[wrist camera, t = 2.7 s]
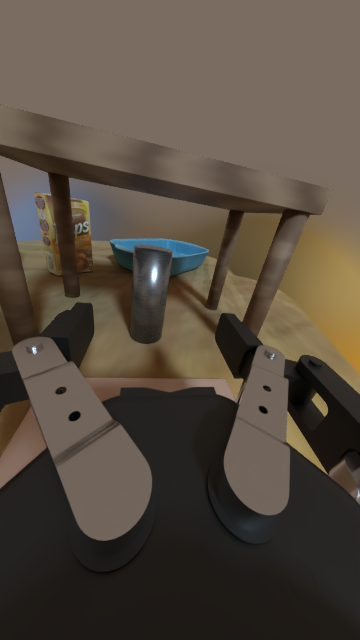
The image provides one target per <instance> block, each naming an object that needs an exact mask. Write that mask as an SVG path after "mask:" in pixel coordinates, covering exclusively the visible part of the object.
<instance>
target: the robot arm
mask: <svg viewBox="0 0 360 640" xmlns="http://www.w3.org/2000/svg"><path fill="white" fill-rule="evenodd" d="M93 335H94V317H93V306H92V304H91V303H79V302H77V303H76V304H75V305H74V307H73V308H72V309H71V310H65V311H63V312H62V313H60V314H58V315H57V316H56V317H55V318H54V320H53V321H52V322H51V323H50V324H49V325H48V326H47V327H46V328H45V330H44V331H43V332H42V333H41V334H40V335H39V336H38V337H33V338H29V339H26V340H23V341H21V342H19V343H18V344H16V345H15V346H14V347H13V349H12V351H10V352H3V353H0V412H1V410H2V409H3V407H4V406H5V405H7V404H11V403H15V402H19V401H23V400H27V399H29V402H30V404H31V407H32V410H33V412H34V415H35V418H36V421H37V423H38V426H39V429H40V431H41V434H42V437H43V440H44V443H45V445H46V449H45V450H43V451H42V452H41V453H40V454H39V455H38V456H37V457H35V458H34V459H33V460H32V461H31V462H30V463H29V464H27V465H26V466H25V467H24V468H23V469H22V470H21V471H20V472H18V473H17V474H16V475H15V476H14V477H13V478H12V479H10V480H9V481H8V482H7V483H6V484H5V485H4V486H2V487H1V488H0V640H360V394H359V393H358V392H357V391H355V390H354V389H353V388H352V387H351V386H350V385H349V384H348V383H347V382H346V381H345V380H343V379H342V378H341V377H340V376H339V375H338V374H337V373H336V372H335V371H334V370H333V369H331V368H330V367H329V366H328V365H327V364H326V363H325V362H323V361H322V360H320V359H318V358H316V357H313V356H309V355H302V356H301V357H300V359H299V360H298V362H296V361H291V360H287V359H285V357H284V355H283V354H282V353H281V352H280V351H279V350H277V349H275V348H273V347H270V346H266V345H263V344H262V342H261V341H260V340H259V339H258V338H257V337H256V335H254V333H253V332H252V331H251V330H250V328H249V327H248V326H247V325H245V324H244V323H242V322H241V321H240V320H239V319H238V318H237V317H236V316H235V314H229V313H222V314H221V316H220V319H219V323H218V326H217V330H216V334H215V340H216V343H217V345H218V347H219V349H220V351H221V353H222V355H223V357H224V359H225V361H226V363H227V365H228V367H229V369H230V371H231V373H232V375H233V377H234V378H243V380H244V381H243V383H242V385H241V388H240V391H239V394H238V397H237V399H236V402H235V401H233V400H231V399H229V398H227V397H224V396H221V395H218V394H216V391H215V388H214V387H190V388H186V389H182V390H178V391H174V392H166V391H161V390H156V389H151V388H146V387H123V388H121V390H120V395H119V396H115V397H112V398H109V399H107V400H105V401H102V402H101V401H100V400H99V398H98V397H97V396H96V394H95V393H94V391H93V390H92V388H91V387H90V385H89V384H88V382H87V381H86V380H85V378H84V377H83V375H82V374H81V372H80V371H79V366H80V364H81V362H82V360H83V358H84V355H85V353H86V351H87V349H88V347H89V344H90V342H91V340H92V338H93ZM316 393H318V394H319V395H320V396H321V398H322V399H323V400H324V401H325V402H326V404H327V406H328V414H327V415H326V416H325V417H324V416H323V414H322V413H321V412H320V411H319V409H318V408H317V407H316V405H315V404H314V403H313V402H312V398H313V397H314V396H315V394H316ZM287 410H288V412H289V413H290V415H291V417H292V418H293V420H294V421H295V423H296V425H297V426H298V428H299V429H300V431H301V432H302V434H303V436H304V437H305V439H306V440H307V442H308V444H309V445H310V447H311V448H312V450H313V451H314V453H315V455H316V456H317V458H318V459H319V461H320V462H321V464H322V466H323V467H324V469H325V470H326V472H327V474H328V475H329V476H328V475H327V474H326V473H324V472H323V471H322V470H321V469H319V468H318V467H317V466H316V465H314V464H313V463H312V462H311V461H309V460H308V459H307V458H306V457H304V456H303V455H302V454H301V453H299V452H298V451H297V450H296V449H294V448H293V447H292V446H291V445H289V444H288V443H287V442H286V429H287Z"/></svg>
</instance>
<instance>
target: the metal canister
mask: <svg viewBox="0 0 360 640" xmlns="http://www.w3.org/2000/svg"><path fill="white" fill-rule="evenodd" d="M172 255H173V251H171V250H169V249H166V248H163V247H158V246H152V245H134V255H133V278H132V302H131V326H130V336H131V338H132V339H133V340H135V341H136V342H139V343H144V344H150V343H155V342H157V341H159V340H160V338H161V335H162V328H163V320H164V313H165V306H166V299H167V292H168V284H169V277H170V270H171V263H172Z"/></svg>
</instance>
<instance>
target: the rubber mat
mask: <svg viewBox="0 0 360 640" xmlns="http://www.w3.org/2000/svg"><path fill="white" fill-rule="evenodd" d="M85 380H86V381H87V382H88V384H89V385H90V387H91V388H92V390H93V391H94V393H95V394H96V396H97V397H98V398H99V400H100V401H101V402H102V401H105V400H107V399H109V398H112V397H115V396H119V395H120V390H121V388H123V387H146V388H151V389H156V390H161V391H166V392H174V391H178V390H182V389H186V388H190V387H214V388H215V391H216V394H218V395H221V396H224V397H227V398H229V399H231V400H233V401H235V400H234V397H233V395H232V393H231V391H230V388H229V386H228V384H227V382H226V379H171V378H85ZM45 449H46V445H45V443H44V440H43V437H42V434H41V431H40V429H39V426H38V423H37V421H36V418H35V415H34V412H33V410H32V407H30V409H29V411H28V412H27V414H26V416H25V417H24V419H23V421H22V422H21V424H20V426H19V427H18V429H17V430H16V432H15V434H14V435H13V437H12V439H11V440H10V442H9V444H8V445H7V447H6V449H5V450H4V452H3V454H2V455H1V457H0V488H1V487H2V486H4V485H5V484H6V483H7V482H8V481H9V480H10V479H12V478H13V477H14V476H15V475H16V474H17V473H18V472H20V471H21V470H22V469H23V468H24V467H25V466H26V465H27V464H29V463H30V462H31V461H32V460H33V459H34V458H35V457H37V456H38V455H39V454H40V453H41V452H42V451H43V450H45Z"/></svg>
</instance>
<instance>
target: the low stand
mask: <svg viewBox="0 0 360 640" xmlns="http://www.w3.org/2000/svg"><path fill="white" fill-rule="evenodd" d="M0 155H1V156H3V157H6V158H9V159H12V160H14V161H17V162H20V163H23V164H26V165H28V166H31V167H34V168H37V169H39V170H42V171H45V172H48V176H49V183H50V190H51V197H52V204H53V211H54V219H55V226H56V233H57V240H58V247H59V254H60V262H61V269H62V276H63V283H64V290H65V296H66V297H71V298H73V297H78V296H80V289H79V278H78V268H77V258H76V248H75V238H74V228H73V218H72V208H71V198H70V188H69V178H75V179H79V180H84V181H89V182H94V183H99V184H104V185H109V186H114V187H119V188H124V189H129V190H134V191H139V192H143V193H148V194H153V195H158V196H163V197H168V198H173V199H178V200H183V201H188V202H193V203H198V204H203V205H208V206H212V207H218V208H222V209H227V210H230V211H229V216H228V220H227V224H226V227H225V231H224V235H223V239H222V243H221V247H220V251H219V255H218V259H217V263H216V267H215V271H214V275H213V279H212V283H211V287H210V291H209V295H208V299H207V303H206V308H208V309H211V310H216V309H217V306H218V303H219V299H220V296H221V292H222V289H223V285H224V282H225V278H226V275H227V271H228V268H229V264H230V261H231V257H232V254H233V250H234V247H235V243H236V240H237V235H238V232H239V229H240V225H241V222H242V219H243V215H244V212H246V213H278V214H282V217H281V220H280V223H279V225H278V228H277V230H276V233H275V236H274V238H273V241H272V244H271V247H270V249H269V252H268V255H267V257H266V260H265V263H264V265H263V268H262V271H261V273H260V276H259V279H258V281H257V284H256V287H255V290H254V292H253V295H252V298H251V300H250V303H249V306H248V308H247V311H246V314H245V316H244V319H243V322H242V323H244V324H245V325H247V326H248V327H249V328H250V330H251V331H252V332H253V333H254V335H256V337H257V336H258V333H259V331H260V329H261V326H262V324H263V322H264V319H265V317H266V315H267V313H268V310H269V308H270V306H271V303H272V301H273V299H274V296H275V294H276V292H277V289H278V287H279V285H280V283H281V280H282V278H283V275H284V273H285V271H286V269H287V266H288V264H289V262H290V259H291V257H292V255H293V252H294V250H295V248H296V245H297V243H298V241H299V239H300V236H301V234H302V232H303V229H304V227H305V225H306V222H307V220H308V218H309V215H310V214H311V215H321V214H322V212H323V210H324V208H325V205H326V203H327V201H328V199H329V197H330V194H331V192H332V189H329V188H325V187H321V186H317V185H313V184H309V183H305V182H301V181H298V180H294V179H290V178H286V177H281V176H278V175H274V174H270V173H266V172H262V171H259V170H254V169H251V168H247V167H243V166H239V165H235V164H231V163H227V162H223V161H219V160H216V159H211V158H208V157H204V156H199V155H196V154H192V153H188V152H184V151H180V150H176V149H173V148H168V147H165V146H160V145H157V144H153V143H149V142H145V141H141V140H137V139H133V138H129V137H125V136H122V135H118V134H114V133H110V132H106V131H102V130H98V129H94V128H90V127H87V126H83V125H79V124H75V123H71V122H67V121H63V120H59V119H55V118H51V117H47V116H44V115H40V114H36V113H32V112H28V111H24V110H20V109H16V108H12V107H8V106H5V105H0ZM68 177H69V178H68ZM0 304H1V308H2V311H3V314H4V317H5V320H6V323H7V326H8V329H9V332H10V335H11V338H12V341H13V344H14V346H15V345H16V344H18V343H19V342H21V341H23V340H26V339H29V338H33V337H38V336H39V333H38V329H37V325H36V321H35V317H34V312H33V308H32V304H31V300H30V296H29V291H28V287H27V283H26V279H25V274H24V270H23V266H22V262H21V258H20V253H19V249H18V245H17V241H16V237H15V232H14V228H13V224H12V220H11V216H10V211H9V207H8V203H7V199H6V195H5V190H4V186H3V182H2V178H1V174H0Z"/></svg>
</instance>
